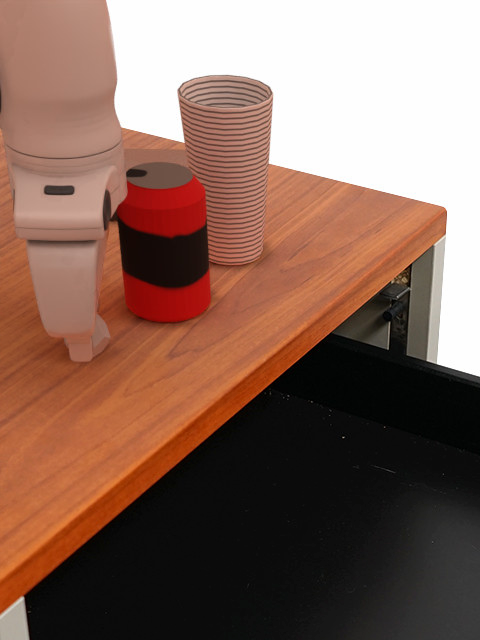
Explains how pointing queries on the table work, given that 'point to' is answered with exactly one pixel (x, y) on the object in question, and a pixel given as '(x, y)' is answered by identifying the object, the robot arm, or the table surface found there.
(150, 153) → the pan
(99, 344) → the polyhedron
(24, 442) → the table surface
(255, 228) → the cup
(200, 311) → the soda can
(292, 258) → the table surface
